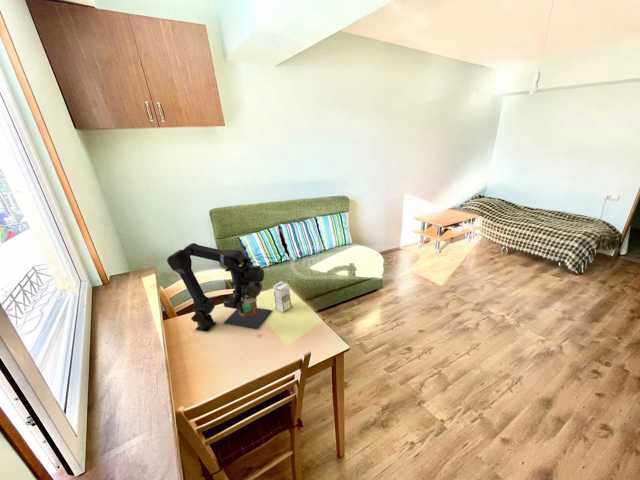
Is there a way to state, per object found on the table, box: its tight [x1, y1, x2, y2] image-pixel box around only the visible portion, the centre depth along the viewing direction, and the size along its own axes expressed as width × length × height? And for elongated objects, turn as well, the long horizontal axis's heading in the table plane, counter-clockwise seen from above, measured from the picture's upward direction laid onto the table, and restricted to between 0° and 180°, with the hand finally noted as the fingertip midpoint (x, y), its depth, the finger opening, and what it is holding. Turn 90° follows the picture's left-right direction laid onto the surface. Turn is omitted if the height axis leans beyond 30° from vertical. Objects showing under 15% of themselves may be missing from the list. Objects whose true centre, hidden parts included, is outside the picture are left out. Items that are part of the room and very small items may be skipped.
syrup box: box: [272, 281, 292, 313], centre depth 143 cm, size 6×6×14 cm
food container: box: [232, 293, 258, 318], centre depth 125 cm, size 12×6×10 cm, turn 59°
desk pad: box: [223, 307, 272, 330], centre depth 139 cm, size 18×14×1 cm
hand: (245, 308), depth 126 cm, fingers closed on food container, 6 cm apart
